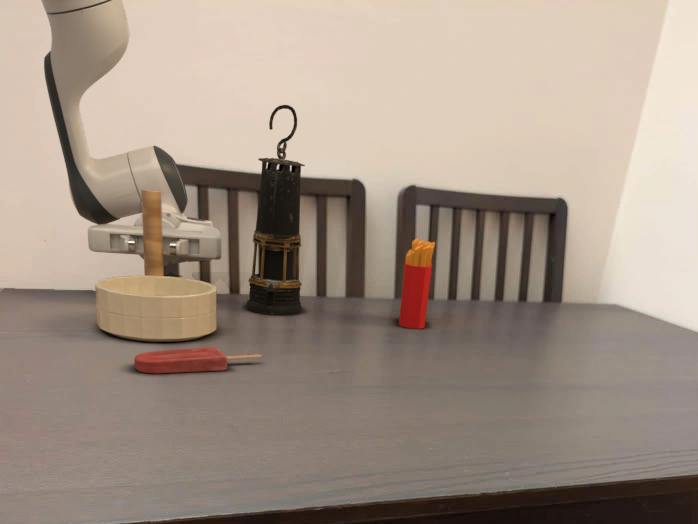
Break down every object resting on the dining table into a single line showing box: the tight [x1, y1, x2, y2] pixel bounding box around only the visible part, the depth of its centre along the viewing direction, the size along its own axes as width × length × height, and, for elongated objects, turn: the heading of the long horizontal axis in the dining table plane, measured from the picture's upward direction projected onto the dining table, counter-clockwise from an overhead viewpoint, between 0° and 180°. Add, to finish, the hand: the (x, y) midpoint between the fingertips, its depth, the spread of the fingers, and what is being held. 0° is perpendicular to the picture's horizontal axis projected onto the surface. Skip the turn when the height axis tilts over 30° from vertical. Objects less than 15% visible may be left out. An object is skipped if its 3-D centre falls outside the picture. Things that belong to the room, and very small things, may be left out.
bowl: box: [94, 274, 218, 343], centre depth 99 cm, size 16×16×6 cm
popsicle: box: [133, 346, 263, 375], centre depth 85 cm, size 4×2×15 cm
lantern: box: [245, 104, 306, 316], centre depth 113 cm, size 9×9×30 cm
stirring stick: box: [141, 190, 165, 276], centre depth 110 cm, size 4×4×17 cm
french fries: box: [398, 237, 436, 330], centre depth 115 cm, size 9×4×13 cm, turn 177°
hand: (152, 248), depth 109 cm, fingers open, 5 cm apart
